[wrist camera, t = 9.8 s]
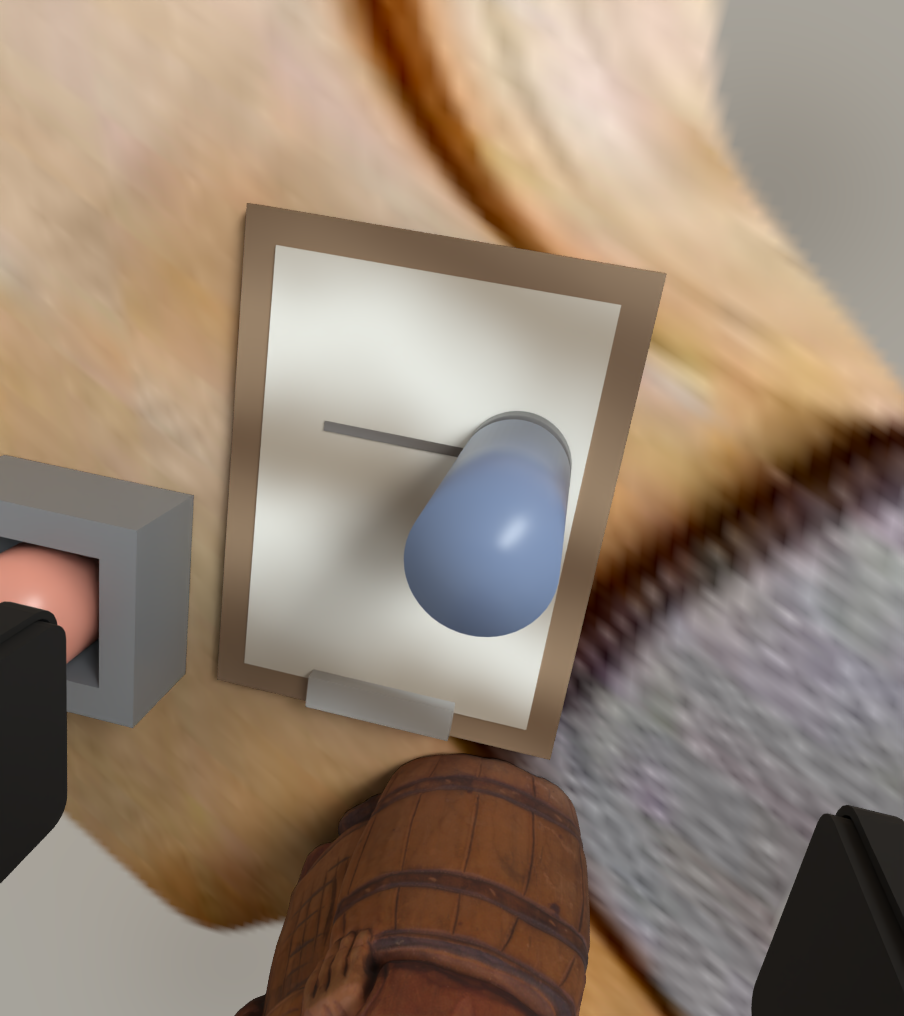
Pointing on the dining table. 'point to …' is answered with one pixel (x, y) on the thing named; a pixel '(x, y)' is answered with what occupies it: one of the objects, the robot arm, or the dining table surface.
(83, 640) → the button
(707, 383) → the dining table surface
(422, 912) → the wooden figurine
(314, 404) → the clipboard
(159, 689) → the button housing
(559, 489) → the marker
